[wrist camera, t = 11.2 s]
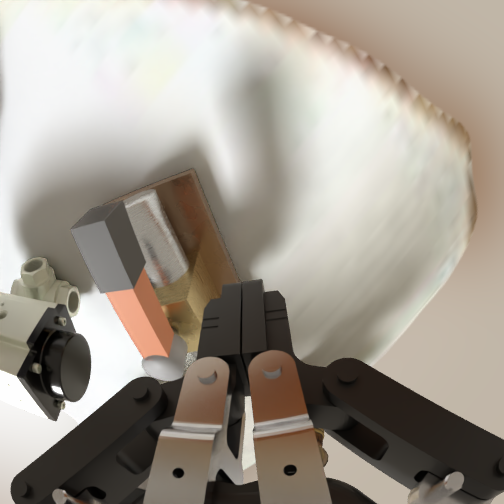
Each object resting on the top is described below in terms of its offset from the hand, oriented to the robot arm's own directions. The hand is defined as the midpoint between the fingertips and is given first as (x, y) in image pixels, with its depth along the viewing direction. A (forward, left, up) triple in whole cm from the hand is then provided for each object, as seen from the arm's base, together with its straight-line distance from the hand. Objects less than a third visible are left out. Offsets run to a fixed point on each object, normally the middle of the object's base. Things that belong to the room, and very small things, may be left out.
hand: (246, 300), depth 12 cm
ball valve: (-4, +27, -17) cm, 32 cm away
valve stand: (-8, +9, -17) cm, 21 cm away
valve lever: (-3, +8, -7) cm, 11 cm away
